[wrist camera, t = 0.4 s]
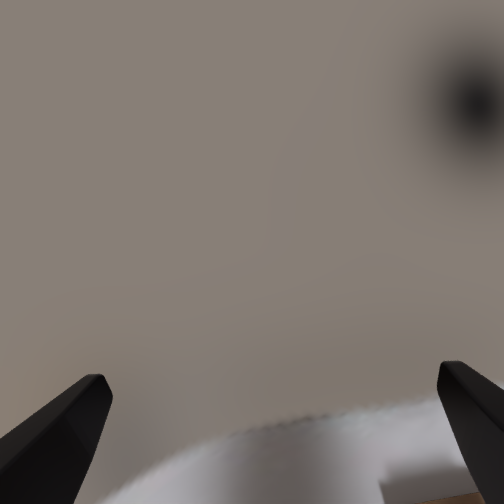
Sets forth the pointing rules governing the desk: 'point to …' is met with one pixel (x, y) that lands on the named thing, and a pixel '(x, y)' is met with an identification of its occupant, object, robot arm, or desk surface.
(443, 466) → the desk surface
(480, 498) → the holder
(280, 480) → the desk surface
